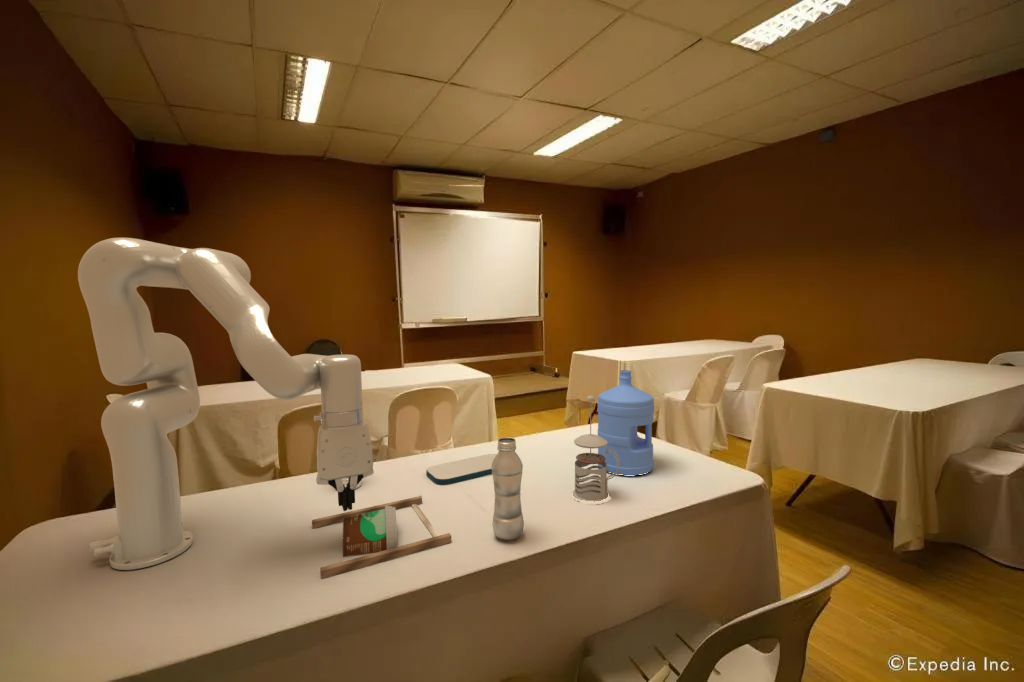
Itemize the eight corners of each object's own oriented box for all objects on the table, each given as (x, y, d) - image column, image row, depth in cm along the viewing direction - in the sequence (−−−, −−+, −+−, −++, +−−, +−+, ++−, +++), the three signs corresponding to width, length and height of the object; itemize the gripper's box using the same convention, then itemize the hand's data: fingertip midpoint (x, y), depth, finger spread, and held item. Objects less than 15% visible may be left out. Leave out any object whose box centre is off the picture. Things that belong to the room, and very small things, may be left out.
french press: (575, 485, 115) (574, 390, 113) (620, 491, 111) (621, 393, 109) (566, 501, 106) (566, 398, 104) (615, 508, 102) (616, 401, 100)
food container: (345, 501, 93) (394, 494, 96) (346, 529, 94) (395, 521, 97) (341, 529, 82) (396, 520, 85) (342, 560, 82) (398, 551, 85)
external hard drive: (495, 458, 137) (495, 452, 137) (515, 470, 127) (515, 463, 127) (423, 474, 125) (422, 468, 125) (438, 488, 115) (438, 481, 115)
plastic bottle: (496, 547, 86) (495, 446, 85) (489, 530, 93) (487, 436, 91) (528, 541, 88) (527, 443, 86) (518, 525, 94) (517, 434, 93)
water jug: (592, 473, 123) (592, 373, 121) (603, 455, 137) (603, 366, 135) (650, 481, 117) (651, 376, 115) (655, 461, 131) (656, 368, 129)
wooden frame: (321, 578, 77) (320, 571, 77) (312, 526, 95) (311, 519, 95) (451, 542, 88) (451, 535, 88) (420, 501, 107) (420, 496, 107)
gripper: (302, 427, 80) (307, 525, 82) (385, 416, 87) (389, 506, 89) (299, 418, 87) (304, 508, 88) (377, 409, 94) (381, 492, 95)
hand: (347, 507), depth 88 cm, fingers closed
